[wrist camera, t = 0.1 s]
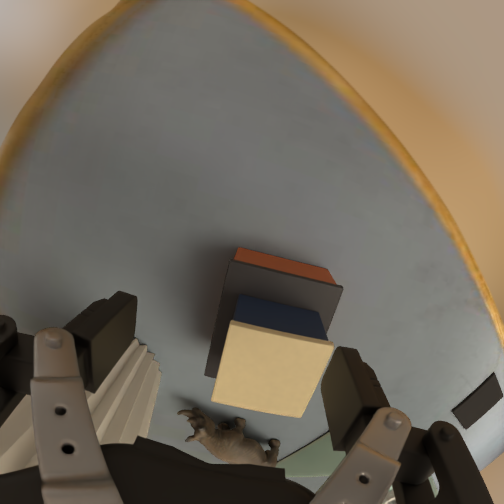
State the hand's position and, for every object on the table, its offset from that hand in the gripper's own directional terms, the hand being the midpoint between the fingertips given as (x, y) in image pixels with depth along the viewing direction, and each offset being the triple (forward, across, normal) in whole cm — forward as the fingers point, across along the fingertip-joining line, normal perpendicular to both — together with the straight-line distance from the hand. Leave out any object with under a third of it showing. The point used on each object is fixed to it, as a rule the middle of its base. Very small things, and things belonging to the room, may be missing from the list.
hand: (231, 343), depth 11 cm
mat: (+15, -38, +14) cm, 43 cm away
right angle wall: (+15, -36, +39) cm, 55 cm away
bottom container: (+15, -3, +5) cm, 16 cm away
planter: (+15, -16, +25) cm, 33 cm away
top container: (+10, -3, +5) cm, 12 cm away
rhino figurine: (+15, -3, +21) cm, 26 cm away
